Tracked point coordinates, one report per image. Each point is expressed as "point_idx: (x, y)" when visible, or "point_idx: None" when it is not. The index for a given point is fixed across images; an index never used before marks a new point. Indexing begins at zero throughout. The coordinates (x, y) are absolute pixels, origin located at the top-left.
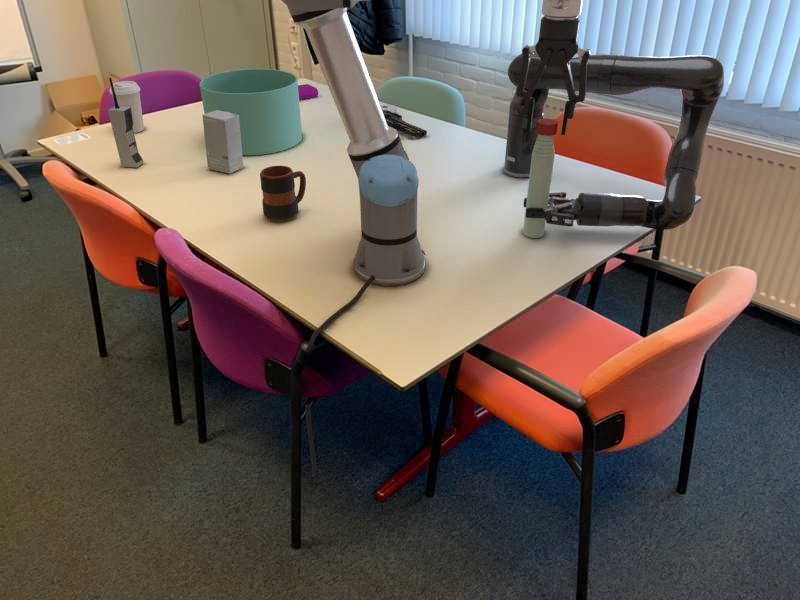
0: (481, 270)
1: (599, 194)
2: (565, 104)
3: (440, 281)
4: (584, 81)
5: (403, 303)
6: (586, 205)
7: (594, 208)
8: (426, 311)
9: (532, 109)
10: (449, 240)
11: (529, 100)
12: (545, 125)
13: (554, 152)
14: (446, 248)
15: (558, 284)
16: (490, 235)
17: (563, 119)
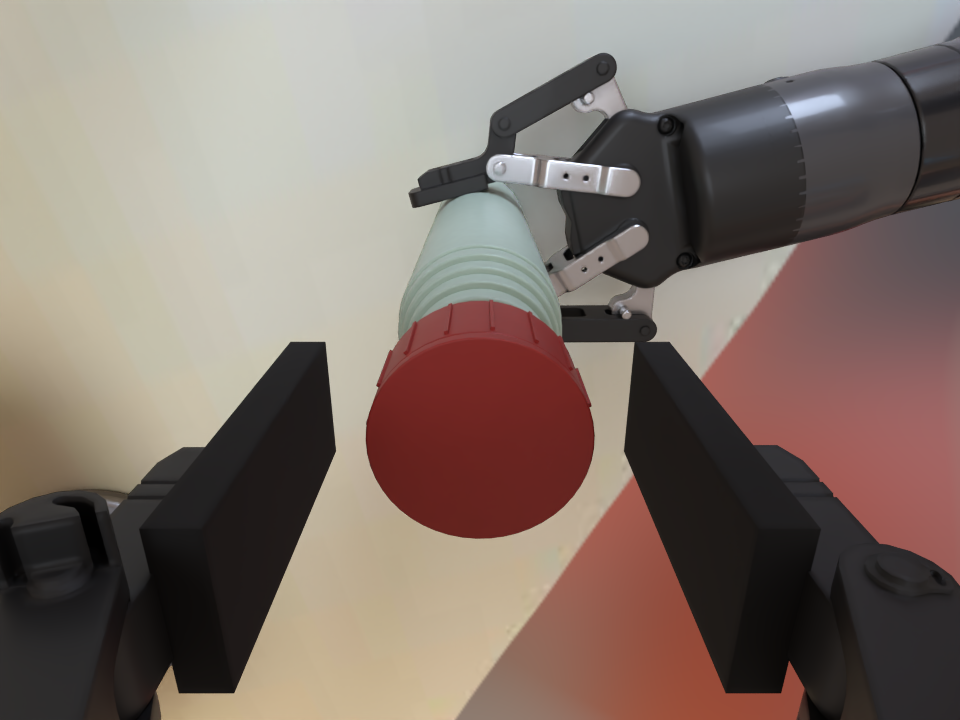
0: (367, 513)
1: (800, 174)
2: (726, 689)
3: (279, 592)
4: None
5: (236, 692)
6: (718, 256)
7: (754, 251)
8: (300, 704)
9: (271, 573)
10: (201, 369)
11: (164, 653)
12: (475, 533)
13: (561, 332)
14: (216, 423)
15: (597, 520)
16: (326, 287)
17: (665, 542)
